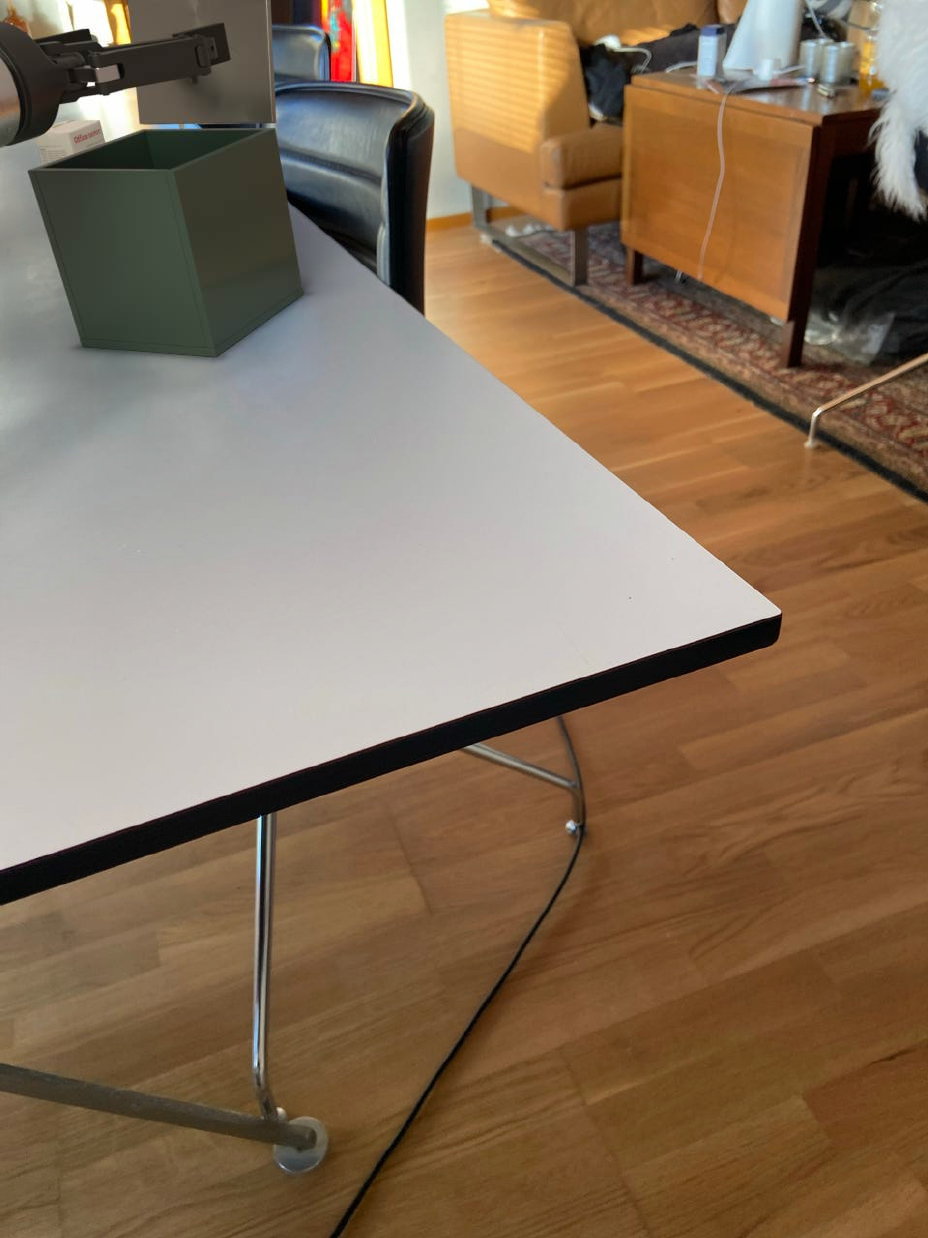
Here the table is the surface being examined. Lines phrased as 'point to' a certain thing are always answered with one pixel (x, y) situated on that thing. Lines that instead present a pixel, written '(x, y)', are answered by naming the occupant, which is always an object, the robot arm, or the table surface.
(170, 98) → the bin lid
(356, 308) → the table surface
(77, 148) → the ink box
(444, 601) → the table surface
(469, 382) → the table surface
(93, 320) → the trash can
